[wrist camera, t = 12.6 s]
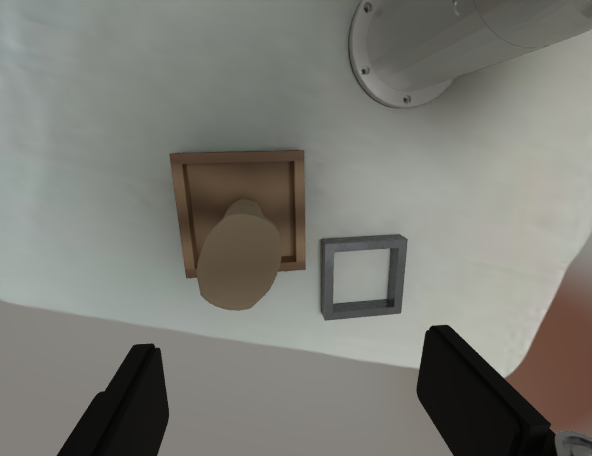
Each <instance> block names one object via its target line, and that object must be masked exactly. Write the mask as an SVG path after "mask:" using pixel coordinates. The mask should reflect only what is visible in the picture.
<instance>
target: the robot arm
mask: <svg viewBox="0 0 592 456" xmlns="http://www.w3.org/2000/svg"><path fill="white" fill-rule="evenodd" d="M364 9H366V10H367V13H366V12H365V11H364ZM591 29H592V0H362V1H361V3H360V5H359V7H358V8H357V10H356V13H355V16H354V19H353V21H352V25H351V31H350V36H349V52H350V59H351V64H352V67H353V70H354V73H355V75H356V77H357V79H358V81H359V83H360V85H361V86H362V87H363V89H364V90H365V91H366V92H367V94H369V95H370V96H371V97H372V98H373V99H375V100H376V101H378V102H380V103H382V104H384V105H386V106H390V107H393V108H411V107H416V106H420V105H423V104H426V103H428V102H430V101H432V100H434V99H435V98H436V97H438V96H439V95H440V94H442V93H443V92H444V91H445V90H446V89H447V88H448V87H449V86H450V85H451V83H452V82H453V81H454V79H455V78H456V77H459V76H461V75H464V74H467V73H470V72H473V71H476V70H479V69H482V68H485V67H488V66H491V65H494V64H497V63H499V62H502V61H505V60H508V59H511V58H514V57H517V56H520V55H523V54H526V53H529V52H532V51H534V50H537V49H540V48H543V47H546V46H549V45H551V44H554V43H557V42H560V41H563V40H566V39H569V38H571V37H574V36H577V35H579V34H582V33H584V32H586V31H589V30H591ZM361 70H364V72H365V73H364V75H363V74H362V72H361ZM403 99H405V102H404V101H403ZM417 396H418V398H419V400H420V402H421V404H422V405H423V407H424V409H425V410H426V412H427V413H428V415H429V416H430V418H431V420H432V421H433V423H434V425H435V426H436V428H437V429H438V431H439V433H440V434H441V436H442V438H443V439H444V441H445V442H446V444H447V445H448V447H449V449H450V450H451V452H452V454H453V455H454V456H592V438H591V437H588V436H586V435H584V434H581V433H577V432H574V431H561V432H558V433H557V435H556V434H555V433H554V432H553V431H551V430H550V429H549V428H550V425H551V424H550V423H549V422H548V421H547V420H546V419H545V418H544V417H543V416H542V415H541V414H540V413H539V412H538V411H537V410H536V409H535V408H534V407H533V406H532V405H531V404H530V403H529V402H528V401H527V400H526V399H524V398H523V397H522V396H521V395H520V394H519V393H518V392H517V391H516V390H515V389H514V388H513V387H512V386H511V385H510V384H509V383H508V382H507V381H506V380H505V379H504V378H503V377H502V376H501V375H500V374H499V373H498V372H497V371H496V370H495V369H494V368H493V367H491V366H490V365H489V364H488V363H487V362H486V361H485V360H484V359H483V358H482V357H481V356H480V355H479V354H478V353H477V352H476V351H475V350H474V349H473V348H472V347H471V346H470V345H469V344H468V343H467V342H466V341H465V340H464V339H463V338H462V337H460V336H459V335H458V334H457V333H456V332H455V331H454V330H453V329H452V328H451V327H450V326H449V325H437V326H431V327H430V329H429V330H427V331H426V334H425V339H424V346H423V352H422V358H421V364H420V370H419V377H418V383H417ZM168 419H169V408H168V401H167V393H166V387H165V379H164V372H163V364H162V357H161V350H160V348H155V346H154V344H137V345H133V347H132V348H131V350H130V351H129V353H128V354H127V356H126V358H125V359H124V361H123V363H122V364H121V366H120V367H119V369H118V371H117V372H116V374H115V376H114V377H113V379H112V380H111V382H110V383H109V385H108V387H107V388H106V390H105V391H104V392H100V393H98V394H97V395H96V396H95V398H94V399H93V400H92V402H91V404H90V405H89V406H88V408H87V410H86V411H85V413H84V414H83V416H82V417H81V419H80V421H79V422H78V423H77V425H76V427H75V428H74V430H73V431H72V433H71V434H70V436H69V438H68V439H67V441H66V442H65V444H64V445H63V447H62V448H61V450H60V452H59V453H58V455H57V456H157V454H158V451H159V448H160V445H161V442H162V439H163V436H164V432H165V430H166V426H167V423H168Z"/></svg>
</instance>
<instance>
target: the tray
mask: <svg viewBox="0 0 592 456" xmlns="http://www.w3.org/2000/svg"><path fill="white" fill-rule="evenodd" d="M170 160H171V168H172V175H173V183H174V190H175V198H176V205H177V212H178V220H179V227H180V235H181V242H182V250H183V257H184V265H185V272H186V278H197V264H198V260H199V257H200V254H201V251H202V248H203V245H204V242H205V240H206V237H207V235H208V234H209V232H210V231H211V230H212V229H213V228H214V227H215V226H216V225H217V224H218V223H219V222H220V221H221V220H222V219H223V218H224V216H225V213H226V212H227V210H228V209H229V207H230V206H231V205H232V204H233V203H235V202H236V201H239V200H240V199H241V198H246V199H247V200H250V201H255V202H256V203H257V204H258V206H259V207H260V209H261V211H262V213H263V215H264V217H266V218H267V219H269V220H270V221H271V222H272V223H273V224H274V225H275V226H276V227H277V229H278V230H279V234H280V243H281V263H280V267H279V270H278V272H280V271H293V270H306V265H305V183H304V151H303V150H288V151H245V152H202V153H173V154H170Z"/></svg>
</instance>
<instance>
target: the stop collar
mask: <svg viewBox="0 0 592 456" xmlns="http://www.w3.org/2000/svg"><path fill="white" fill-rule="evenodd" d="M407 240H408V239H406V238H405V237H403V236H401V235H400V234H398V235H382V236H365V237H349V238H332V239H322V274H321V312H322V315H323V317H324V320H336V319H346V318H357V317H367V316H378V315H389V314H399V313H401V308H402V297H403V285H404V274H405V263H406V251H407ZM387 248H391V257H390V271H389V284H388V298H387V299H384V300H373V301H361V302H350V303H339V304H333V266H334V252H342V251H357V250H372V249H387Z"/></svg>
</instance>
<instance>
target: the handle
mask: <svg viewBox="0 0 592 456" xmlns="http://www.w3.org/2000/svg"><path fill="white" fill-rule="evenodd" d="M280 263H281V243H280V234H279V230H278V229H277V227H276V226H275V225H274V224H273V223H272V222H271V221H270V220H269V219H267V218H266V217H264V215H263V213H262V211H261V209H260V207H259V206H258V204H257V203H256V202H255V201H250V200H247V199H246V198H241V199H240V200H239V201H236V202H235V203H233V204H232V205H231V206H230V207H229V209H228V210H227V212H226V213H225V216H224V218H223V219H222V220H221V221H220V222H219V223H218V224H217V225H216V226H215V227H214V228H213V229H212V230H211V231H210V232H209V234H208V235H207V237H206V240H205V242H204V245H203V248H202V251H201V254H200V257H199V260H198V264H197V278H198V284H199V289H200V294H201V296H202V297H203V298H204V299H205V300H206V301H208V302H209V303H211V304H213V305H215V306H217V307H220V308H223V309H228V310H245V309H249V308H251V307H252V306H253V305H255V304H256V303H257V302H258V301H259V300H260V299H261V298H262V297H263V296H264V295H265V294H266V293H267V292H268V291H269V289H270V288H271V286H272V284H273V282H274V280H275V277H276V275H277V272H278V270H279V267H280Z"/></svg>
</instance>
